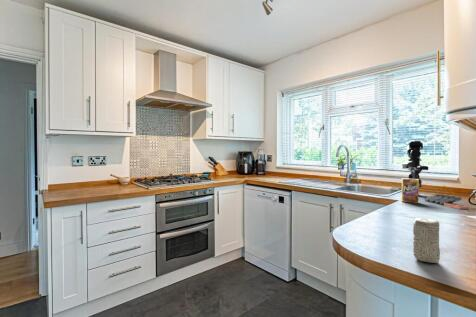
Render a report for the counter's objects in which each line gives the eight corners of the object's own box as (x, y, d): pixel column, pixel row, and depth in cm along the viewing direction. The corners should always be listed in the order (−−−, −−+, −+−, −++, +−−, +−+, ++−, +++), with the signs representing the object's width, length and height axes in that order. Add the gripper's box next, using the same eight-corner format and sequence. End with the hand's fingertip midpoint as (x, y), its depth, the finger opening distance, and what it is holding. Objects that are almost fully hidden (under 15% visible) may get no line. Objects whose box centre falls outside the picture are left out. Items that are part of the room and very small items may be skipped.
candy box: (401, 201, 161) (402, 178, 161) (401, 200, 165) (401, 178, 165) (418, 203, 157) (418, 179, 157) (417, 202, 161) (417, 178, 160)
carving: (438, 258, 74) (439, 218, 73) (441, 268, 67) (442, 224, 67) (412, 254, 77) (413, 215, 77) (412, 262, 71) (413, 221, 71)
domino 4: (439, 201, 155) (453, 197, 146) (446, 201, 155) (461, 197, 146) (440, 204, 154) (454, 199, 145) (447, 204, 154) (462, 200, 145)
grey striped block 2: (429, 199, 162) (441, 195, 153) (436, 199, 163) (449, 195, 153) (430, 202, 162) (442, 197, 153) (437, 202, 162) (449, 197, 153)
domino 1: (424, 198, 166) (436, 194, 157) (431, 198, 167) (443, 194, 157) (425, 200, 166) (436, 196, 157) (432, 200, 166) (444, 196, 157)
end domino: (444, 202, 151) (459, 206, 141) (451, 202, 151) (467, 206, 141) (444, 205, 151) (459, 209, 141) (451, 205, 151) (467, 209, 141)
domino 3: (434, 200, 159) (446, 196, 149) (441, 200, 159) (454, 196, 150) (435, 203, 158) (447, 198, 149) (442, 203, 158) (455, 198, 149)
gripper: (395, 157, 188) (395, 178, 189) (412, 157, 170) (412, 180, 170) (410, 157, 188) (410, 178, 189) (429, 158, 170) (428, 180, 170)
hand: (414, 179), depth 179 cm, fingers closed
